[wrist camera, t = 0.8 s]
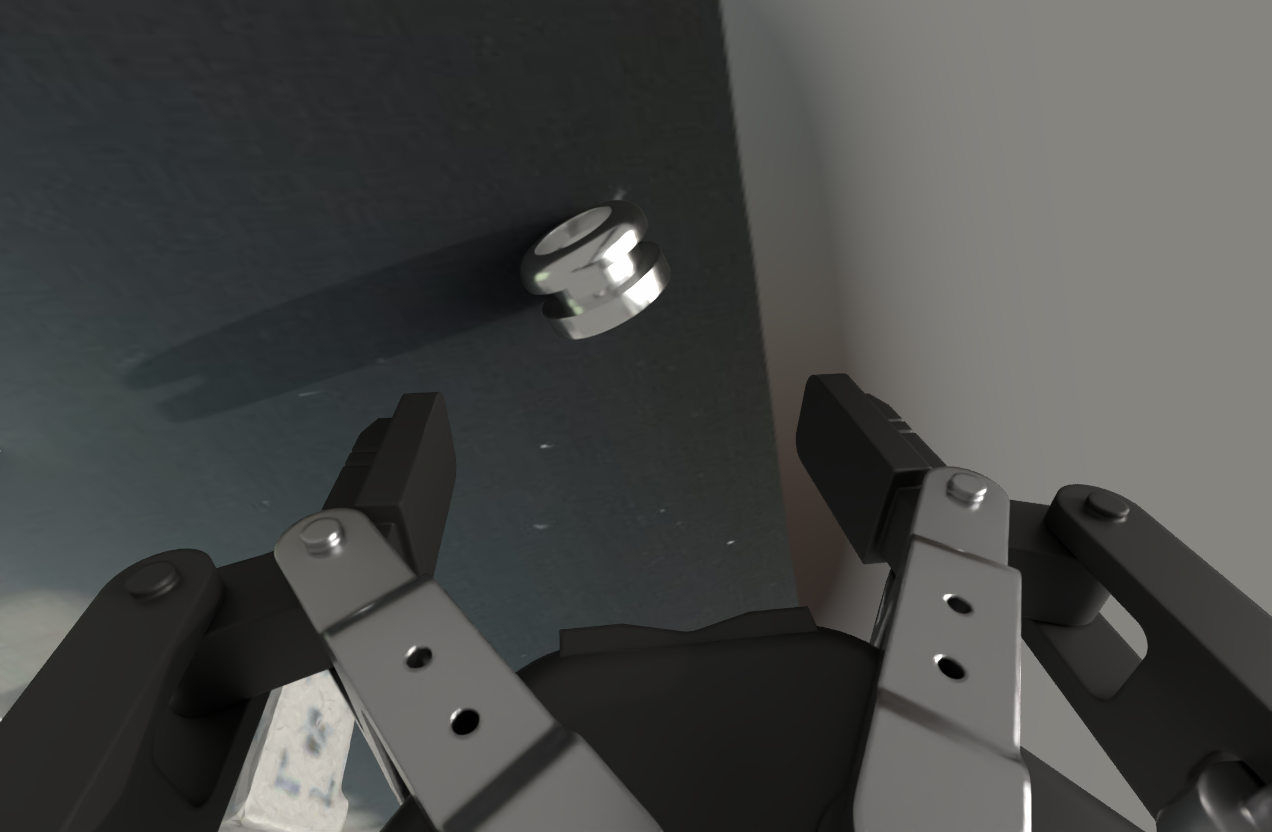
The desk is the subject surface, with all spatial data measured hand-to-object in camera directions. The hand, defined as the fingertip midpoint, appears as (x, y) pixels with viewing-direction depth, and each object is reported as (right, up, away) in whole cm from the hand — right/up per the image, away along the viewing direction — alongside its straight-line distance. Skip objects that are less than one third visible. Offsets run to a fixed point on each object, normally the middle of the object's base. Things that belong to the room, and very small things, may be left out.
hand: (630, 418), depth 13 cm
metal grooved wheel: (-2, +7, +11) cm, 13 cm away
